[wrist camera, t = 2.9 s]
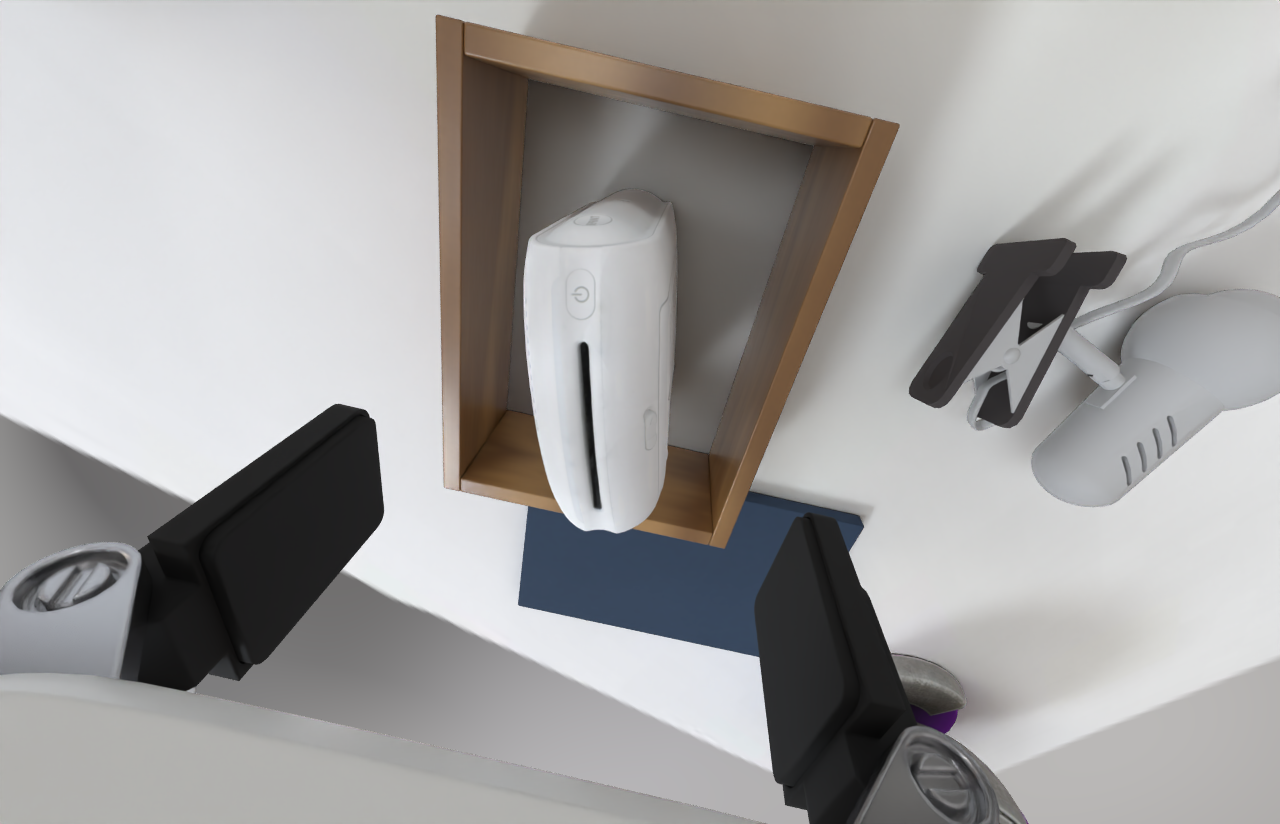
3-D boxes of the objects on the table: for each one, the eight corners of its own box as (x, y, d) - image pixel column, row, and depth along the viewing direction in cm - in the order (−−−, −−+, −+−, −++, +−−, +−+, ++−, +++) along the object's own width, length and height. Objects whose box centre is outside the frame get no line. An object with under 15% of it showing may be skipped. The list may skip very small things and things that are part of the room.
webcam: (913, 755, 41) (1014, 1036, 28) (769, 728, 41) (804, 996, 28) (992, 670, 35) (1170, 985, 22) (821, 638, 35) (897, 933, 22)
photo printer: (584, 185, 21) (474, 233, 10) (681, 185, 21) (668, 233, 10) (598, 390, 26) (533, 562, 16) (675, 393, 26) (663, 571, 15)
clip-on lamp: (1193, 5, 19) (873, 373, 23) (1453, -128, 12) (947, 408, 17) (1382, 190, 20) (1045, 502, 25) (1698, 153, 14) (1171, 578, 18)
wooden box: (493, 417, 28) (443, 488, 22) (510, 50, 19) (434, 13, 13) (718, 467, 28) (725, 549, 22) (840, 128, 19) (901, 123, 14)
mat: (521, 594, 36) (517, 605, 35) (538, 444, 28) (533, 454, 28) (780, 649, 36) (782, 662, 35) (859, 515, 29) (864, 526, 28)
